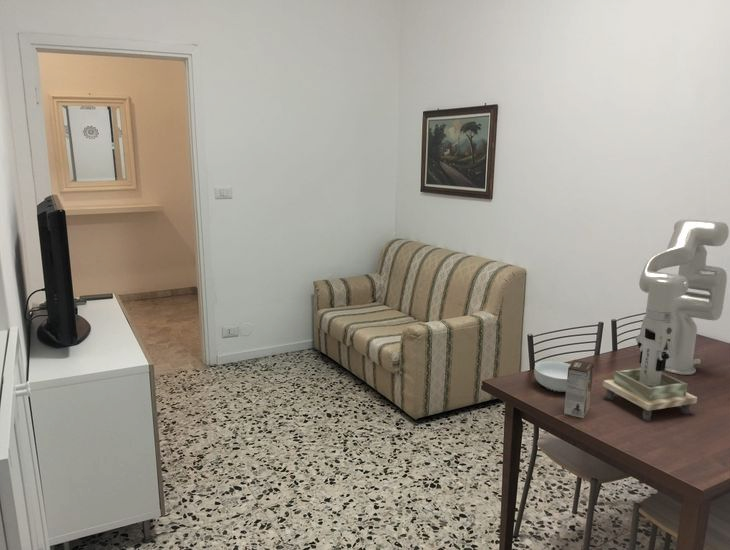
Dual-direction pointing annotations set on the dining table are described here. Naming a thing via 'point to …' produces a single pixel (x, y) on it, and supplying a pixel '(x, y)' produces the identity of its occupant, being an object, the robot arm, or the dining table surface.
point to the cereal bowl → (552, 375)
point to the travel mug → (649, 362)
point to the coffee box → (578, 388)
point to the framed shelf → (650, 392)
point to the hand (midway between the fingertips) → (651, 366)
